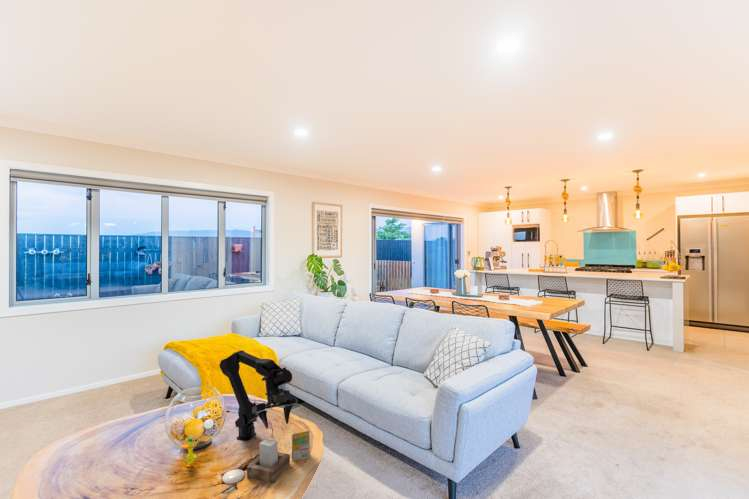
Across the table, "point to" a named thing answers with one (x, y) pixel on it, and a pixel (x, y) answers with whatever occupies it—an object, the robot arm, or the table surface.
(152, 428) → the table surface
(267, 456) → the skincare box
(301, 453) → the crayon box
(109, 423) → the table surface
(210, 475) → the table surface
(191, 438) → the toy figure
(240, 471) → the ceramic coaster
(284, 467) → the walnut holder block
